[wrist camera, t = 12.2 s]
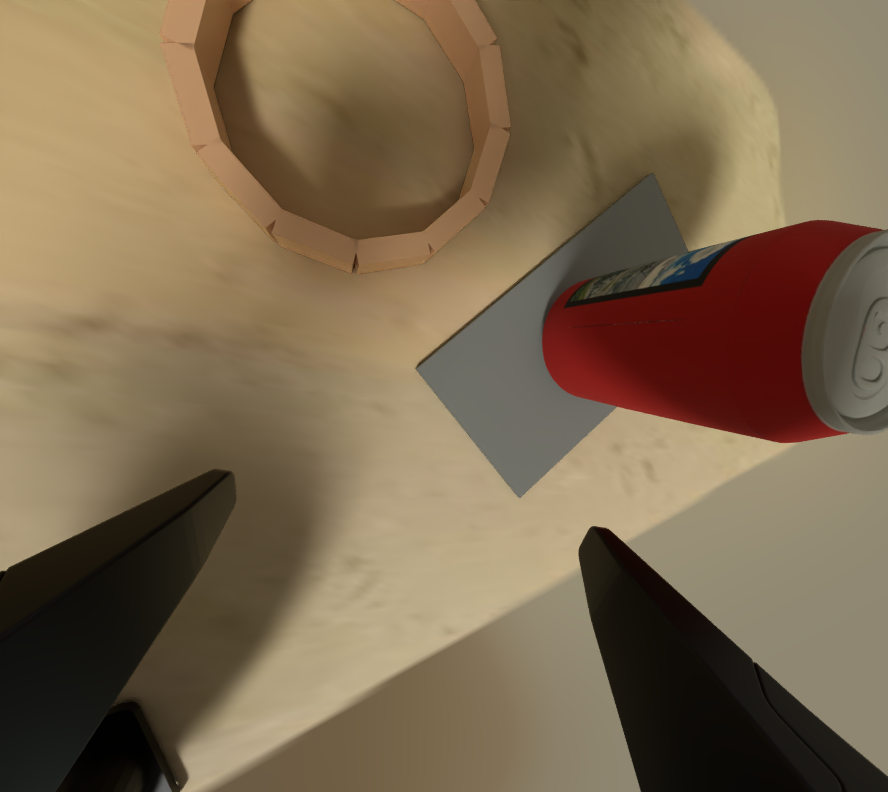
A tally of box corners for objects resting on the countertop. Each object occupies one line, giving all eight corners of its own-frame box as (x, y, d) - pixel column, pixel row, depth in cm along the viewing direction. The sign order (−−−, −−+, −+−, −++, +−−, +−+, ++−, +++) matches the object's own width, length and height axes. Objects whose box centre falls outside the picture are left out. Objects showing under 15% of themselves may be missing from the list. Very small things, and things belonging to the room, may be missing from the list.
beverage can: (641, 294, 21) (994, 235, 10) (617, 402, 22) (922, 467, 10) (545, 268, 19) (850, 156, 8) (523, 389, 20) (772, 451, 8)
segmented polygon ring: (507, 251, 19) (526, 240, 17) (247, 291, 15) (234, 283, 14) (463, -43, 16) (480, -95, 14) (139, -67, 13) (104, -138, 11)
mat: (517, 496, 21) (519, 498, 21) (415, 368, 18) (416, 368, 18) (711, 313, 23) (716, 313, 23) (648, 174, 20) (652, 172, 20)
